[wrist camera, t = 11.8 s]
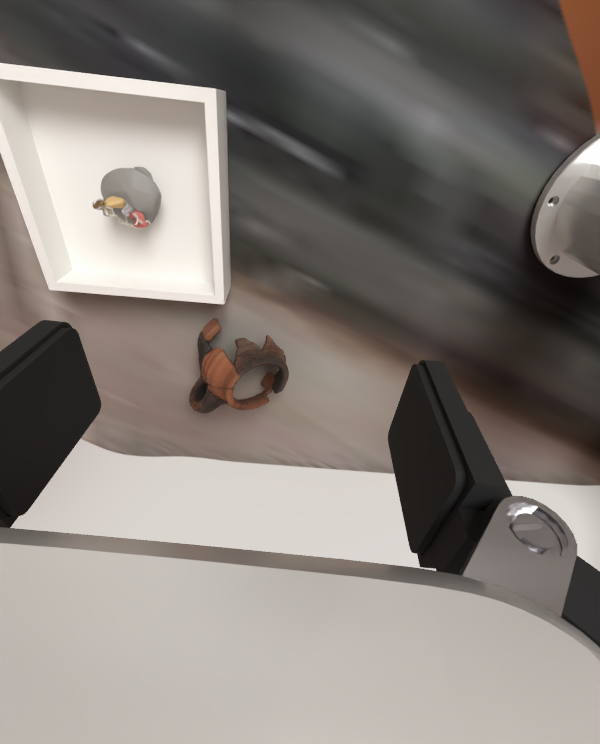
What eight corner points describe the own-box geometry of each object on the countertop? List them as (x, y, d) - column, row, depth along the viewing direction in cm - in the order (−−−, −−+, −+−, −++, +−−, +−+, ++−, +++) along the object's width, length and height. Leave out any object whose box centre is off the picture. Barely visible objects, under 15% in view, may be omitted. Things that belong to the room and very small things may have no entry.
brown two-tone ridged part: (224, 292, 37) (257, 338, 32) (278, 328, 44) (312, 370, 39) (156, 373, 39) (177, 427, 34) (218, 394, 46) (242, 441, 42)
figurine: (149, 152, 28) (109, 170, 23) (180, 208, 30) (150, 234, 26) (100, 177, 29) (53, 199, 25) (134, 228, 32) (97, 256, 27)
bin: (225, 91, 26) (215, 88, 23) (231, 286, 36) (224, 304, 32) (8, 65, 25) (-33, 59, 22) (72, 273, 35) (49, 289, 32)
